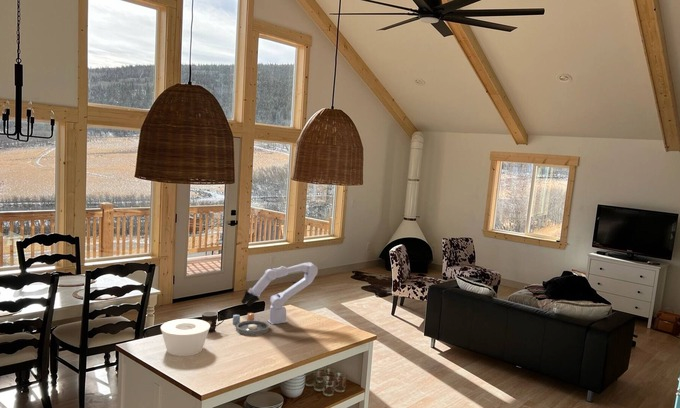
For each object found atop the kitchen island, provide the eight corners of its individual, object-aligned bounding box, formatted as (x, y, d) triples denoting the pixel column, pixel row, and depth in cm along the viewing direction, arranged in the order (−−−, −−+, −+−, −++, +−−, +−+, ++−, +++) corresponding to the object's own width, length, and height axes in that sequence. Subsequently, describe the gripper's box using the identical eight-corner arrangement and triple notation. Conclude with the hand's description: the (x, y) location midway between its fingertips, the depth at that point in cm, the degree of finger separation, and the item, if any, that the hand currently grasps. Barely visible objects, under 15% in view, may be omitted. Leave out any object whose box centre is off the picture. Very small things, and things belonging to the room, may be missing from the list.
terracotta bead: (252, 320, 311) (252, 312, 310) (254, 322, 307) (255, 314, 307) (246, 321, 309) (246, 313, 308) (248, 323, 305) (249, 315, 305)
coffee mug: (198, 332, 286) (198, 314, 285) (206, 327, 294) (207, 310, 293) (216, 335, 283) (217, 317, 282) (224, 330, 291) (225, 313, 290)
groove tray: (260, 323, 307) (261, 319, 307) (273, 333, 292) (273, 328, 292) (231, 326, 298) (232, 322, 298) (243, 337, 283) (243, 332, 282)
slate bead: (238, 322, 306) (238, 314, 306) (240, 324, 303) (240, 316, 302) (231, 323, 304) (232, 314, 303) (234, 325, 301) (234, 317, 300)
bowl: (218, 351, 261) (218, 328, 259) (172, 362, 244) (173, 338, 243) (195, 337, 278) (196, 315, 277) (151, 346, 262) (152, 323, 260)
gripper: (259, 284, 314) (245, 302, 312) (251, 279, 300) (235, 297, 298) (267, 291, 311) (252, 309, 309) (259, 287, 298) (243, 305, 296)
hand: (245, 304), depth 303 cm, fingers open, 7 cm apart
